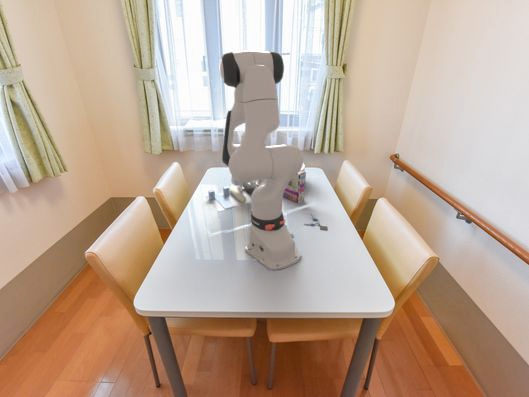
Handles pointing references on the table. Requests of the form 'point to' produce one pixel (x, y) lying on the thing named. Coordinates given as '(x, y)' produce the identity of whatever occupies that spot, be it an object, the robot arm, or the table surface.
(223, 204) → the rod display rack
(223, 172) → the table surface
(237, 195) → the rod
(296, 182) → the candy bar box
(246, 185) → the dark gray rod
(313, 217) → the key chain
